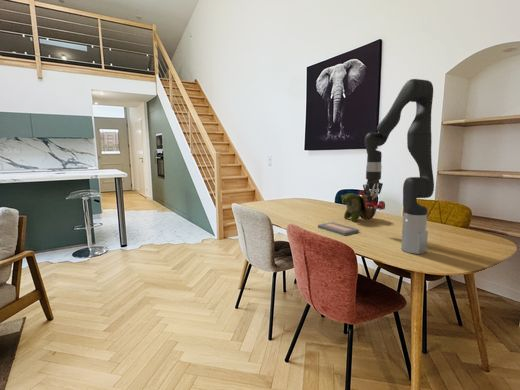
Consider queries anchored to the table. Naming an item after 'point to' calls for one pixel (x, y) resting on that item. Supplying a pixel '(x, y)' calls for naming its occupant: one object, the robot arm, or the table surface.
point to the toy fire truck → (373, 204)
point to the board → (338, 228)
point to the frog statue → (357, 207)
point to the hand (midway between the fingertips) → (372, 202)
